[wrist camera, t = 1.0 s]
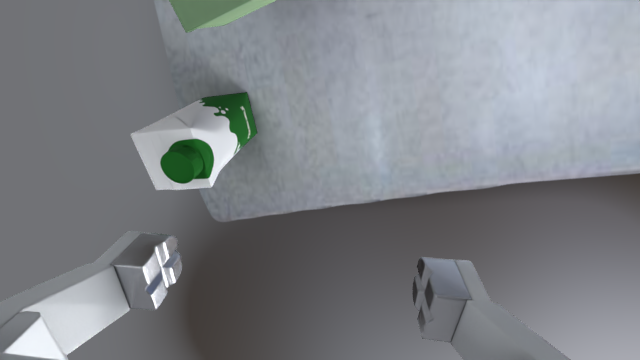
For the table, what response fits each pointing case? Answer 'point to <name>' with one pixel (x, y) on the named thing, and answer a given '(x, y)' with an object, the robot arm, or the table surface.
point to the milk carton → (195, 141)
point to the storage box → (213, 11)
